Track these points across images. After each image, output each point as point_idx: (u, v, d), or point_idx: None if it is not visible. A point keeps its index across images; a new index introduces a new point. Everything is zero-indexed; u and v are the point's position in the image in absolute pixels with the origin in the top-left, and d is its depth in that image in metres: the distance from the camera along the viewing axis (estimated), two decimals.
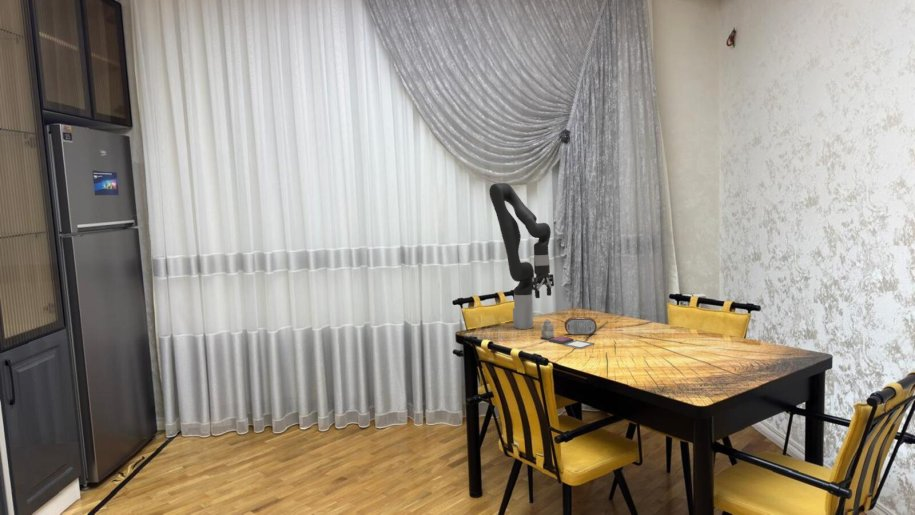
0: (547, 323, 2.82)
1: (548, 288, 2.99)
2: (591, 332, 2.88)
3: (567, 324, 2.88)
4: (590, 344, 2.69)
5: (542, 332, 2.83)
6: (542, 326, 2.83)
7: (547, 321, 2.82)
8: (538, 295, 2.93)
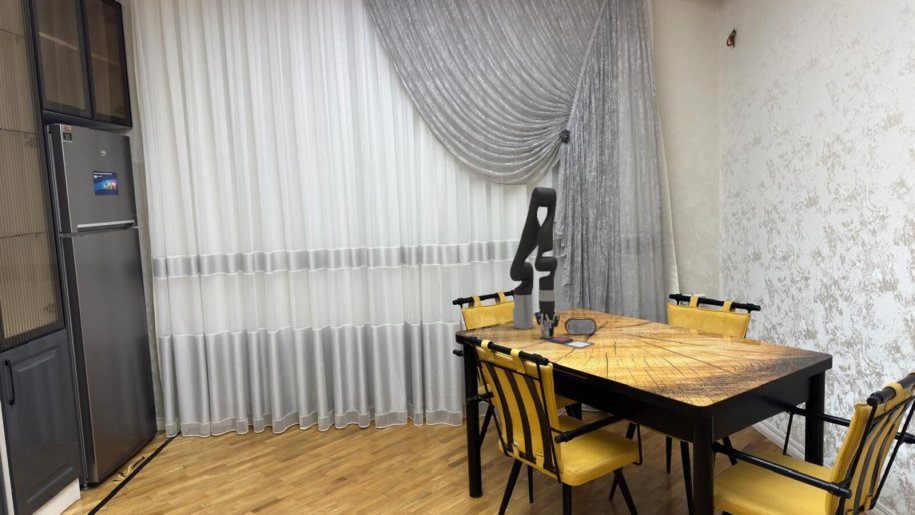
0: (547, 323, 2.82)
1: None
2: (591, 332, 2.88)
3: (567, 324, 2.88)
4: (590, 344, 2.69)
5: (542, 332, 2.83)
6: (542, 326, 2.83)
7: None
8: None
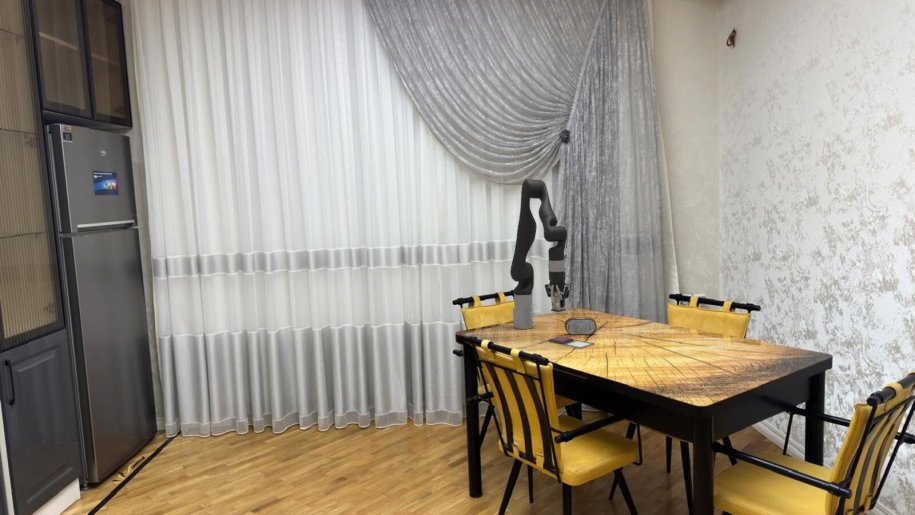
0: (557, 294, 2.75)
1: None
2: (591, 332, 2.88)
3: (567, 324, 2.88)
4: (590, 344, 2.69)
5: (553, 304, 2.77)
6: (552, 298, 2.76)
7: (557, 292, 2.75)
8: None
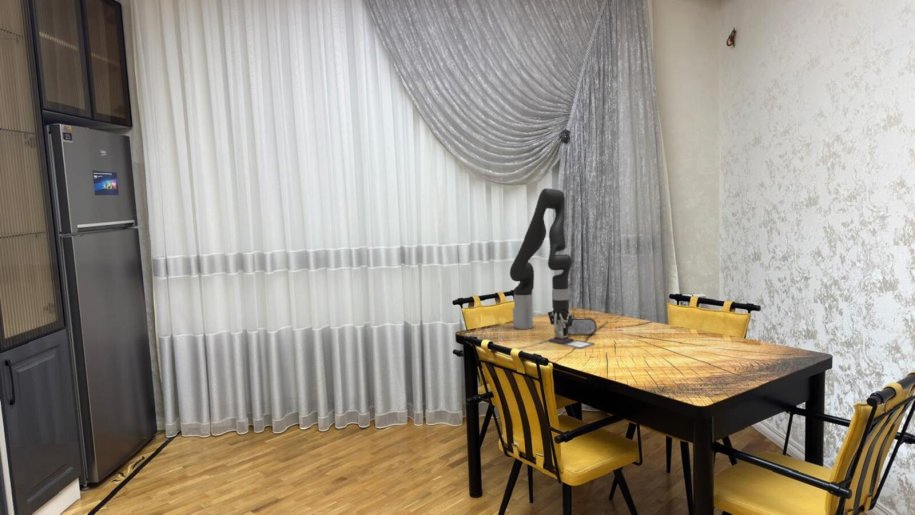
0: (561, 323, 2.75)
1: None
2: (591, 332, 2.88)
3: None
4: (590, 344, 2.69)
5: (556, 331, 2.77)
6: (556, 326, 2.77)
7: None
8: None
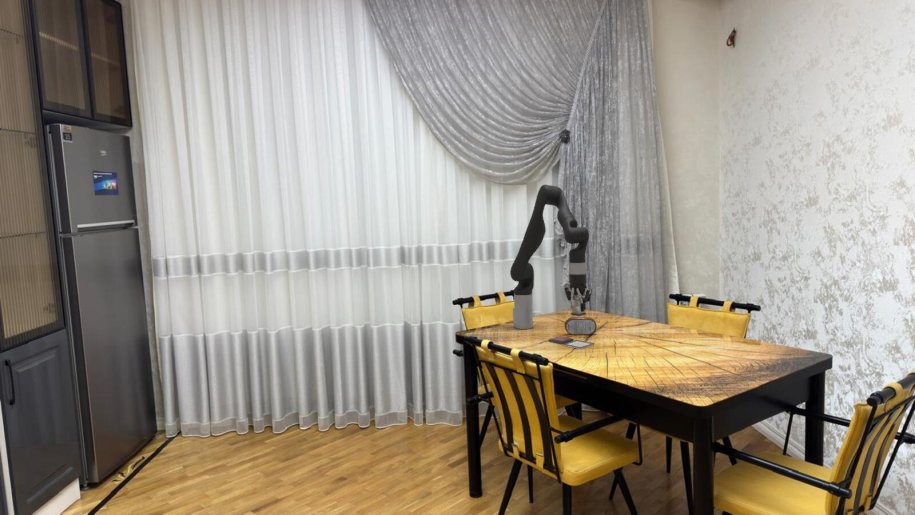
0: (578, 298, 2.67)
1: None
2: (591, 332, 2.88)
3: (567, 324, 2.88)
4: (590, 344, 2.69)
5: (573, 307, 2.68)
6: (573, 301, 2.68)
7: (578, 296, 2.67)
8: None
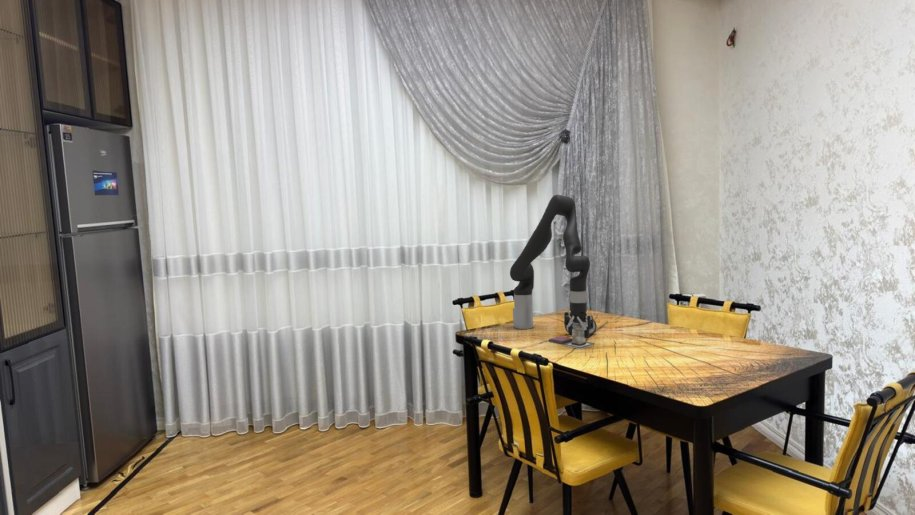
0: (578, 328, 2.68)
1: (571, 327, 2.73)
2: (591, 332, 2.88)
3: None
4: (590, 344, 2.69)
5: (573, 337, 2.70)
6: (573, 331, 2.69)
7: (578, 326, 2.68)
8: None
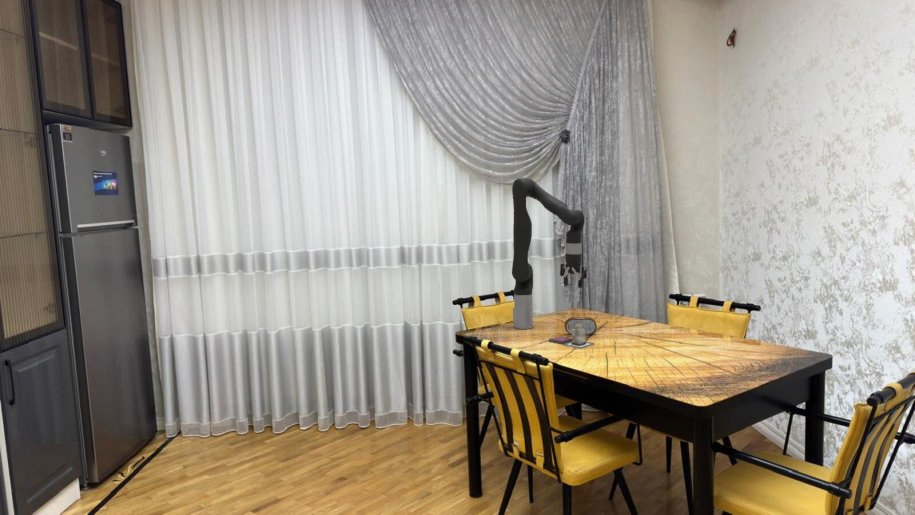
0: (578, 328, 2.68)
1: (566, 278, 2.89)
2: (591, 332, 2.88)
3: (567, 324, 2.88)
4: (590, 344, 2.69)
5: (573, 337, 2.70)
6: (573, 331, 2.69)
7: (578, 326, 2.68)
8: None
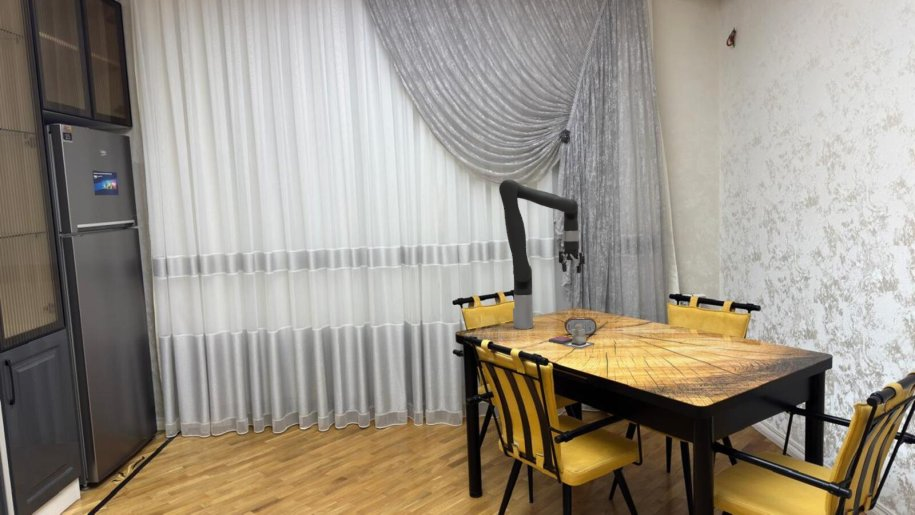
0: (578, 328, 2.68)
1: (565, 264, 3.02)
2: (591, 332, 2.88)
3: (567, 324, 2.88)
4: (590, 344, 2.69)
5: (573, 337, 2.70)
6: (573, 331, 2.69)
7: (578, 326, 2.68)
8: None
